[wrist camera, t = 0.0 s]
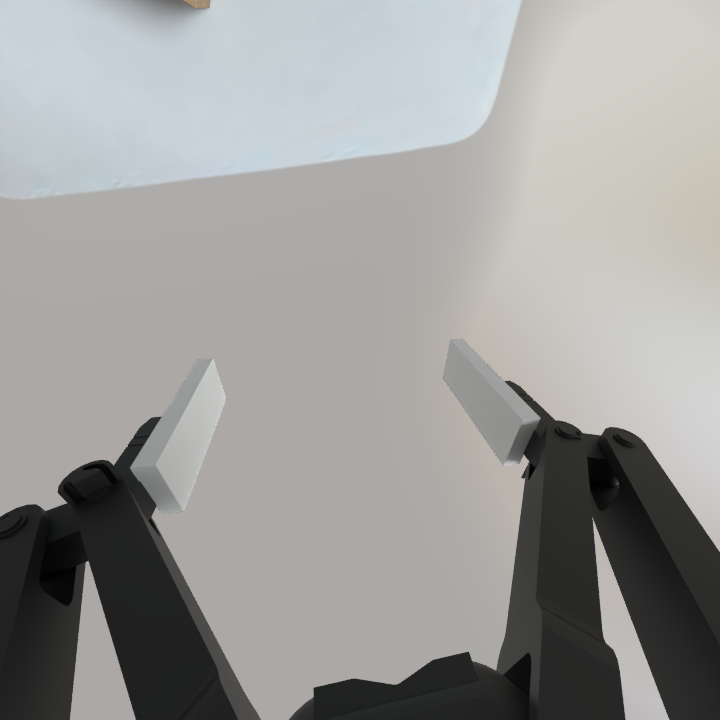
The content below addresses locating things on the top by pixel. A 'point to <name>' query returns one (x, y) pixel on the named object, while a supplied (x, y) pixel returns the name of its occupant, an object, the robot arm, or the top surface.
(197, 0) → the open wooden box
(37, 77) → the top surface
